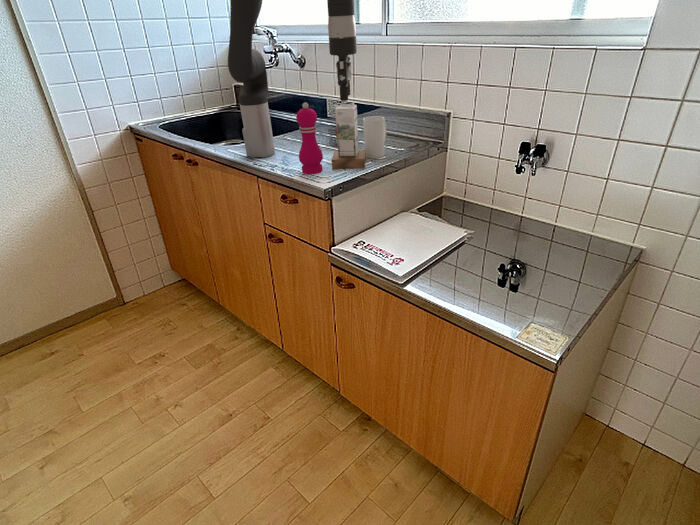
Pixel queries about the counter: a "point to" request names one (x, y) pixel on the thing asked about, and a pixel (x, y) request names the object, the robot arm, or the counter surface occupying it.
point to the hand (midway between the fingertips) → (345, 98)
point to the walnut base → (349, 161)
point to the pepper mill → (309, 141)
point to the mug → (374, 136)
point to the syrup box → (347, 130)
